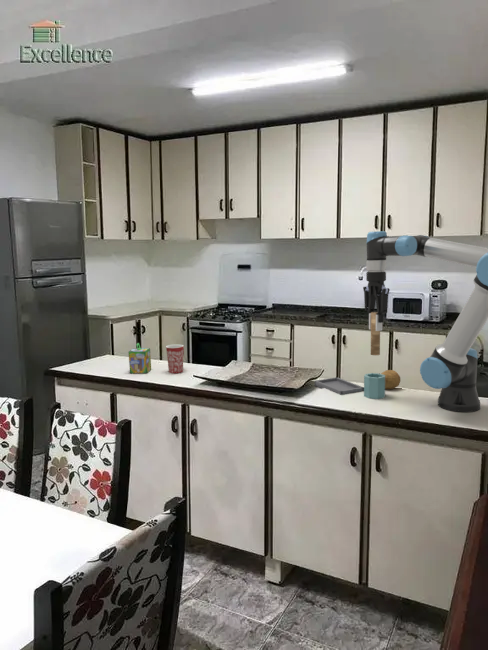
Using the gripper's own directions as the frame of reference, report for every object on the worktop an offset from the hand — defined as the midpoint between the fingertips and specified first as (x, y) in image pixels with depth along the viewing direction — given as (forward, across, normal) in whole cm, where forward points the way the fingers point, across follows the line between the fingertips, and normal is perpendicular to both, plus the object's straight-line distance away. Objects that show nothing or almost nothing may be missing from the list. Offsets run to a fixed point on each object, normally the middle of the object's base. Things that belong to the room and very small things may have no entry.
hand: (375, 329), depth 210 cm
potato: (+29, +8, -14) cm, 33 cm away
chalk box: (+28, +96, +73) cm, 124 cm away
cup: (+28, 0, 0) cm, 28 cm away
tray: (+28, +18, +5) cm, 34 cm away
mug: (+28, +87, +56) cm, 107 cm away
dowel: (+10, 0, 0) cm, 10 cm away
